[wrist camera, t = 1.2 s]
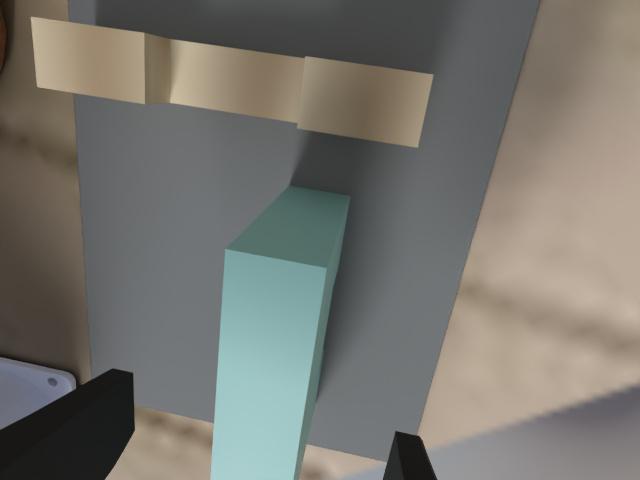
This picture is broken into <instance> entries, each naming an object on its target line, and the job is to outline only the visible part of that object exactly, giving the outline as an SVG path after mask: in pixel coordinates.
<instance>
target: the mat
mask: <svg viewBox="0 0 640 480" xmlns="http://www.w3.org/2000/svg"><path fill="white" fill-rule="evenodd" d="M539 1H540V0H68V12H69V22H72V23H79V24H86V25H93V26H100V27H107V28H114V29H121V30H128V31H135V32H142V33H147V34H151V35H155V36H160V37H164V38H168V39H174V40H181V41H188V42H194V43H201V44H208V45H215V46H222V47H229V48H236V49H243V50H250V51H257V52H264V53H271V54H278V55H284V56H291V57H298V58H305V56H308V57H315V58H322V59H329V60H336V61H343V62H350V63H357V64H364V65H371V66H378V67H385V68H392V69H399V70H406V71H413V72H419V73H426V74H433V80H432V84H431V89H430V94H429V98H428V103H427V107H426V112H425V116H424V121H423V126H422V130H421V135H420V139H419V144H418V148H416V147H410V146H404V145H397V144H391V143H385V142H379V141H372V140H366V139H360V138H354V137H347V136H341V135H335V134H328V133H322V132H316V131H310V130H303V129H297V123H295V122H288V121H282V120H276V119H269V118H263V117H257V116H250V115H244V114H238V113H231V112H225V111H219V110H212V109H206V108H200V107H193V106H187V105H181V104H175V103H156V104H140V103H134V102H128V101H122V100H115V99H109V98H103V97H96V96H90V95H84V94H78V93H74V107H75V123H76V139H77V155H78V170H79V186H80V202H81V218H82V234H83V249H84V265H85V281H86V297H87V313H88V329H89V344H90V360H91V376H92V379H94V378H95V377H97V376H99V375H101V374H103V373H104V372H106V371H108V370H110V369H112V368H114V369H119V370H123V371H128V372H132V373H133V377H134V405H136V406H141V407H145V408H150V409H154V410H158V411H163V412H167V413H172V414H176V415H181V416H185V417H189V418H194V419H198V420H203V421H207V422H212V423H214V417H215V401H216V385H217V370H218V354H219V339H220V323H221V308H222V292H223V277H224V261H225V249H226V248H227V247H228V246H229V245H230V244H231V243H232V242H233V241H234V240H235V239H236V238H237V237H238V236H239V235H240V234H241V233H242V232H243V231H244V230H245V229H246V228H247V227H248V226H249V225H250V224H251V223H252V222H253V221H254V220H255V219H256V218H257V217H258V216H259V215H260V214H261V213H262V212H263V211H264V210H265V209H266V208H267V207H268V206H269V205H270V204H271V203H272V202H273V201H274V200H275V199H276V198H277V197H278V196H279V195H280V194H281V193H282V192H283V191H284V190H285V189H286V188H287V187H288V186H289V185H290V186H296V187H302V188H307V189H313V190H319V191H325V192H331V193H336V194H342V195H348V196H350V202H349V208H348V214H347V219H346V225H345V231H344V237H343V243H342V249H341V255H340V261H339V267H338V271H337V274H336V278H335V282H334V286H333V292H332V298H331V304H330V310H329V316H328V321H327V327H326V333H325V339H324V345H323V349H325V350H324V356H323V361H322V367H321V373H320V379H319V385H318V391H317V397H316V403H315V408H314V412H313V417H312V421H311V426H310V430H309V435H308V439H307V444H309V445H313V446H318V447H322V448H327V449H331V450H336V451H340V452H344V453H349V454H353V455H358V456H362V457H367V458H371V459H375V460H380V461H384V462H388V458H389V454H390V450H391V446H392V442H393V439H394V435H395V431H398V432H403V433H407V434H412V435H417V431H418V428H419V424H420V421H421V417H422V413H423V410H424V406H425V403H426V399H427V396H428V392H429V389H430V385H431V382H432V378H433V375H434V371H435V368H436V364H437V361H438V357H439V354H440V350H441V347H442V343H443V340H444V336H445V332H446V329H447V325H448V322H449V318H450V315H451V311H452V308H453V304H454V301H455V297H456V294H457V290H458V287H459V283H460V280H461V276H462V273H463V269H464V266H465V262H466V259H467V255H468V251H469V248H470V244H471V241H472V237H473V234H474V230H475V227H476V223H477V220H478V216H479V213H480V209H481V206H482V202H483V199H484V195H485V192H486V188H487V185H488V181H489V178H490V174H491V170H492V167H493V163H494V160H495V156H496V153H497V149H498V146H499V142H500V139H501V135H502V132H503V128H504V125H505V121H506V118H507V114H508V111H509V107H510V104H511V100H512V97H513V93H514V89H515V86H516V82H517V79H518V75H519V72H520V68H521V65H522V61H523V58H524V54H525V51H526V47H527V44H528V40H529V37H530V33H531V30H532V26H533V23H534V19H535V16H536V12H537V8H538V5H539Z"/></svg>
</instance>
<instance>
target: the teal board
mask: <svg viewBox="0 0 640 480" xmlns="http://www.w3.org/2000/svg"><path fill="white" fill-rule="evenodd" d="M349 202H350V196H348V195H342V194H336V193H331V192H325V191H319V190H313V189H307V188H302V187H296V186H290V185H289V186H288V187H287V188H286V189H285V190H284V191H283V192H282V193H281V194H280V195H279V196H278V197H277V198H276V199H275V200H274V201H273V202H272V203H271V204H270V205H269V206H268V207H267V208H266V209H265V210H264V211H263V212H262V213H261V214H260V215H259V216H258V217H257V218H256V219H255V220H254V221H253V222H252V223H251V224H250V225H249V226H248V227H247V228H246V229H245V230H244V231H243V232H242V233H241V234H240V235H239V236H238V237H237V238H236V239H235V240H234V241H233V242H232V243H231V244H230V245H229V246H228V247H227V248H226V249H225V261H224V277H223V292H222V308H221V323H220V339H219V354H218V370H217V385H216V401H215V417H214V432H213V448H212V463H211V479H210V480H298V479H299V475H300V470H301V466H302V461H303V457H304V452H305V448H306V444H307V439H308V435H309V430H310V426H311V421H312V417H313V412H314V408H315V403H316V397H317V391H318V385H319V379H320V373H321V367H322V361H323V356H324V350H325V349H323V345H324V339H325V333H326V327H327V321H328V316H329V310H330V304H331V298H332V292H333V286H334V282H335V278H336V274H337V271H338V267H339V261H340V255H341V249H342V243H343V237H344V231H345V225H346V219H347V214H348V208H349Z"/></svg>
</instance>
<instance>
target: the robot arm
mask: <svg viewBox="0 0 640 480" xmlns="http://www.w3.org/2000/svg"><path fill="white" fill-rule="evenodd" d="M134 431H135V422H134V377H133V373H132V372H128V371H123V370H119V369H114V368H112V369H110V370H108V371H106V372H104V373H103V374H101V375H99V376H97V377H95V378H94V379H92V380H90V381H88V382H87V383H85V384H83V385H81V386H80V387H78V388H76V381H75V378H74V376H73V375H72V374H70V373H68V372H65V371H61V370H56V369H52V368H47V367H43V366H38V365H34V364H29V363H25V362H20V361H16V360H11V359H7V358H2V357H0V480H105V478H106V477H107V476H108V474H109V473H110V472H111V470H112V469H113V467H114V466H115V464H116V462H117V461H118V459H119V457H120V456H121V454H122V452H123V451H124V449H125V447H126V445H127V443H128V442H129V440H130V438H131V436H132V434H133V433H134ZM383 480H437V478H436V476H435V473H434V470H433V468H432V465H431V463H430V460H429V458H428V455H427V452H426V450H425V447H424V444H423V441H422V439H421V438H420V437H419V436H416V435H412V434H407V433H403V432H398V431H395V435H394V439H393V442H392V446H391V450H390V454H389V458H388V462H387V465H386V469H385V473H384V477H383Z"/></svg>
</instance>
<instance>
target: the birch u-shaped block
mask: <svg viewBox="0 0 640 480" xmlns="http://www.w3.org/2000/svg"><path fill="white" fill-rule="evenodd" d="M31 26H32V37H33V48H34V59H35V70H36V81H37V87H40V88H46V89H53V90H59V91H65V92H71V93H78V94H84V95H90V96H96V97H103V98H109V99H115V100H122V101H128V102H134V103H140V104H156V103H175V104H181V105H187V106H193V107H200V108H206V109H212V110H219V111H225V112H231V113H238V114H244V115H250V116H257V117H263V118H269V119H276V120H282V121H288V122H295V123H297V129H303V130H310V131H316V132H322V133H328V134H335V135H341V136H347V137H354V138H360V139H366V140H372V141H379V142H385V143H391V144H397V145H404V146H410V147H416V148H418V144H419V139H420V135H421V130H422V126H423V121H424V116H425V112H426V107H427V103H428V98H429V94H430V89H431V84H432V80H433V74H426V73H419V72H413V71H406V70H399V69H392V68H385V67H378V66H371V65H364V64H357V63H350V62H343V61H336V60H329V59H322V58H315V57H308V56H305V58H298V57H291V56H284V55H278V54H271V53H264V52H257V51H250V50H243V49H236V48H229V47H222V46H215V45H208V44H201V43H194V42H188V41H181V40H174V39H168V38H164V37H160V36H155V35H151V34H147V33H142V32H135V31H128V30H121V29H114V28H107V27H100V26H93V25H86V24H79V23H72V22H65V21H58V20H51V19H44V18H37V17H31Z"/></svg>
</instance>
